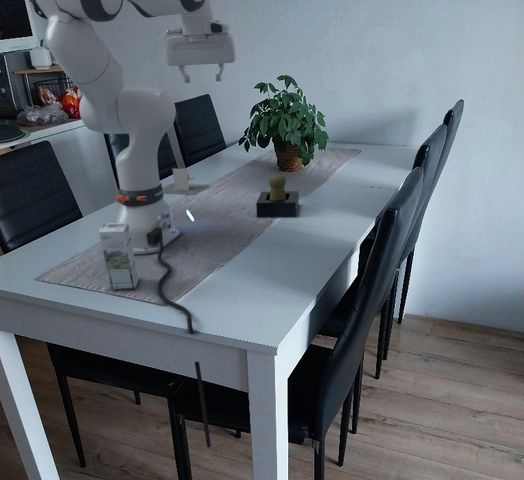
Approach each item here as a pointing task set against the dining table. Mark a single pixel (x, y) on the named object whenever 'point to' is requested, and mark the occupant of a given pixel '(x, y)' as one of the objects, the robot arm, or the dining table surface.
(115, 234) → the syrup box
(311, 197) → the dining table surface
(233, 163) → the dining table surface
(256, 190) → the dining table surface
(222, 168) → the dining table surface
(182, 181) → the architectural model
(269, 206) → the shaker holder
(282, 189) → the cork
